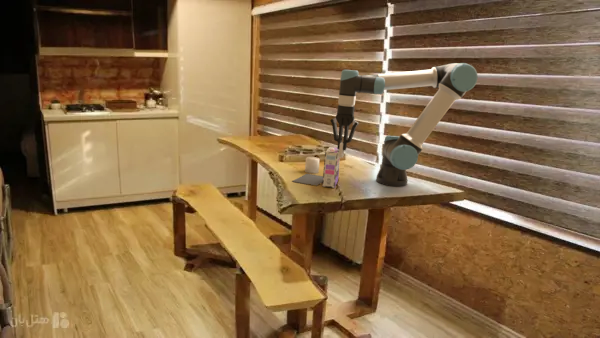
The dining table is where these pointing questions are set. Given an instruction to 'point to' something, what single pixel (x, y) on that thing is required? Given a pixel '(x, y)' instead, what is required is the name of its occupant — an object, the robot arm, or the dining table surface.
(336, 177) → the candy box
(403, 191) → the dining table surface
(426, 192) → the dining table surface
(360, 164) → the dining table surface
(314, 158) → the cream capsule shape
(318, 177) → the mat
